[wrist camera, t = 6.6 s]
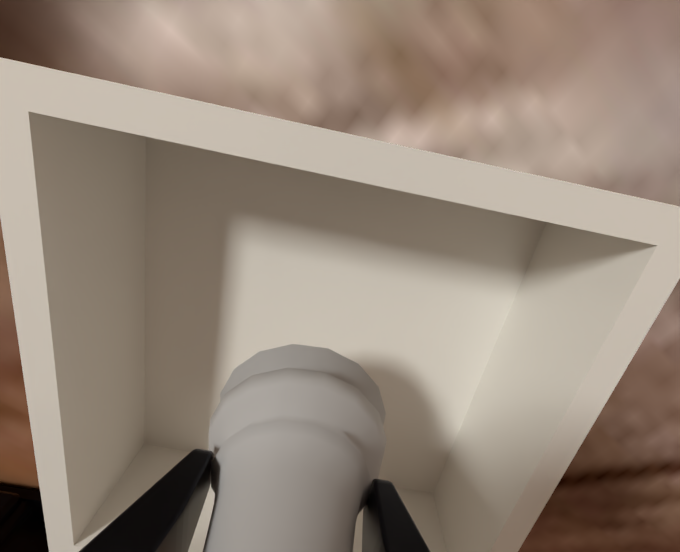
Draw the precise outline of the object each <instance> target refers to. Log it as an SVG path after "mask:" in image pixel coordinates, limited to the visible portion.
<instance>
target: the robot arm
mask: <svg viewBox="0 0 680 552" xmlns="http://www.w3.org/2000/svg"><path fill="white" fill-rule="evenodd" d="M213 459H214V454H213V452H212V451H209V450H203V449H194V450H192V451H191V452H190V453H189V454H188V455H187V456H185V457H184V458H183V459H182V460H181V461H180V462H179V463H178V464H176V465H175V466H174V467H173V468H172V469H171V470H170V471H169V472H167V473H166V474H165V475H164V476H163V477H162V478H161V479H160V480H158V481H157V482H156V483H155V484H154V485H153V486H152V487H151V488H150V489H148V490H147V491H146V492H145V493H144V494H143V495H142V496H141V497H139V498H138V499H137V500H136V501H135V502H134V503H133V504H132V505H130V506H129V507H128V508H127V509H126V510H125V511H124V512H123V513H121V514H120V515H119V516H118V517H117V518H116V519H115V520H114V521H112V522H111V523H110V524H109V525H108V526H107V527H106V528H105V529H103V530H102V531H101V532H100V533H99V534H98V535H97V536H96V537H95V538H93V539H92V540H91V541H90V542H89V543H88V544H87V545H86V546H84V547H83V548H82V549H81V550H80V551H79V552H188V550H189V547H190V544H191V541H192V538H193V535H194V532H195V529H196V526H197V523H198V520H199V517H200V514H201V511H202V509H203V506H204V503H205V500H206V497H207V494H208V491H209V488H210V484H211V463H212V461H213ZM0 552H49V549H48V542H47V535H46V528H45V521H44V514H43V507H42V500H41V493H40V492H39V491H33V490H27V489H20V488H14V487H8V486H2V485H0ZM362 552H430V550H429V548H428V546H427V544H426V543H425V541H424V539H423V537H422V535H421V534H420V532H419V530H418V528H417V526H416V525H415V523H414V521H413V519H412V517H411V516H410V514H409V512H408V510H407V508H406V507H405V505H404V503H403V501H402V499H401V498H400V496H399V494H398V492H397V490H396V489H395V487H394V485H393V484H392V482H390V481H388V480H382V479H373V480H372V484H371V488H370V492H369V497H368V501H367V504H366V506H365V507H364V509H363V527H362Z"/></svg>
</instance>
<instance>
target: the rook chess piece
mask: <svg viewBox="0 0 680 552" xmlns="http://www.w3.org/2000/svg"><path fill="white" fill-rule="evenodd" d="M385 415H386V412H385V409H384V405H383V401H382V397H381V394H380V390H379V387H378V386H377V385H376V383H375V382H374V381H373V380H372V379H371V378H370V376H369V375H368V374H367V373H366V372H365V371H364V370H363V368H362V367H361V366H360V365H359V364H358V363H356V362H354V361H352V360H350V359H348V358H346V357H344V356H342V355H340V354H338V353H336V352H334V351H332V350H331V349H329V348H322V347H314V346H306V345H298V344H290V345H286V346H281V347H277V348H272V349H268V350H263V351H259V352H258V353H256V354H255V355H254V356H252V357H251V358H249V359H248V360H246V361H245V362H243V363H242V364H241V365H239V366H238V367H236V368H235V369H234V370H233V372H232V373H231V375H230V377H229V379H228V381H227V382H226V384H225V386H224V388H223V389H222V391H221V393H220V403H219V404H218V406H217V408H216V410H215V411H214V413H213V415H212V417H211V419H210V427H209V451H212V452H213V454H214V459H213V461H212V463H211V488H212V490H213V491H214V493H215V499H214V506H213V510H212V514H211V518H210V523H209V527H208V531H207V536H206V540H205V544H204V548H203V552H353V544H354V535H355V526H356V520H357V516H358V514H359V513H360V512H361V510H362V509H363V508H364V507H365V506H366V504H367V501H368V497H369V492H370V488H371V484H372V480H373V479H378V476H379V472H380V468H381V464H382V459H383V455H384V451H385V446H386V441H387V439H386V435H385V432H384V428H383V424H384V420H385Z"/></svg>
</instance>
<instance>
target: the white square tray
mask: <svg viewBox="0 0 680 552" xmlns="http://www.w3.org/2000/svg"><path fill="white" fill-rule="evenodd" d="M0 218H1V225H2V232H3V239H4V245H5V252H6V259H7V266H8V273H9V280H10V287H11V294H12V301H13V307H14V314H15V321H16V328H17V335H18V342H19V349H20V356H21V363H22V369H23V376H24V383H25V390H26V397H27V404H28V411H29V418H30V425H31V431H32V438H33V445H34V452H35V459H36V466H37V473H38V480H39V487H40V493H41V500H42V507H43V514H44V521H45V528H46V535H47V542H48V549H49V552H79V551H80V550H81V549H82V548H83V547H84V546H86V545H87V544H88V543H89V542H90V541H91V540H92V539H93V538H95V537H96V536H97V535H98V534H99V533H100V532H101V531H102V530H103V529H105V528H106V527H107V526H108V525H109V524H110V523H111V522H112V521H114V520H115V519H116V518H117V517H118V516H119V515H120V514H121V513H123V512H124V511H125V510H126V509H127V508H128V507H129V506H130V505H132V504H133V503H134V502H135V501H136V500H137V499H138V498H139V497H141V496H142V495H143V494H144V493H145V492H146V491H147V490H148V489H150V488H151V487H152V486H153V485H154V484H155V483H156V482H157V481H158V480H160V479H161V478H162V477H163V476H164V475H165V474H166V473H167V472H169V471H170V470H171V469H172V468H173V467H174V466H175V465H176V464H178V463H179V462H180V461H181V460H182V459H183V458H184V457H185V456H187V455H188V454H189V453H190V452H191V451H192V450H194V449H203V450H209V427H210V419H211V417H212V415H213V413H214V411H215V410H216V408H217V406H218V404H219V403H220V393H221V391H222V389H223V388H224V386H225V384H226V382H227V381H228V379H229V377H230V375H231V373H232V372H233V370H234V369H235V368H236V367H238V366H239V365H241V364H242V363H243V362H245V361H246V360H248V359H249V358H251V357H252V356H254V355H255V354H256V353H258V352H259V351H263V350H268V349H272V348H277V347H281V346H286V345H290V344H298V345H306V346H314V347H322V348H329V349H331V350H332V351H334V352H336V353H338V354H340V355H342V356H344V357H346V358H348V359H350V360H352V361H354V362H356V363H358V364H359V365H360V366H361V367H362V368H363V370H364V371H365V372H366V373H367V374H368V375H369V376H370V378H371V379H372V380H373V381H374V382H375V383H376V385H377V386H378V387H379V390H380V394H381V397H382V401H383V405H384V409H385V412H386V415H385V420H384V424H383V428H384V432H385V435H386V439H387V441H386V446H385V451H384V455H383V459H382V464H381V468H380V472H379V476H378V479H382V480H388V481H390V482H392V484H393V485H394V487H395V489H396V490H397V492H398V494H399V496H400V498H401V499H402V501H403V503H404V505H405V507H406V508H407V510H408V512H409V514H410V516H411V517H412V519H413V521H414V523H415V525H416V526H417V528H418V530H419V532H420V534H421V535H422V537H423V539H424V541H425V543H426V544H427V546H428V548H429V550H430V552H518V551H519V549H520V547H521V546H522V544H523V542H524V541H525V539H526V537H527V536H528V534H529V532H530V530H531V529H532V527H533V525H534V524H535V522H536V520H537V519H538V517H539V515H540V514H541V512H542V510H543V508H544V507H545V505H546V503H547V502H548V500H549V498H550V497H551V495H552V493H553V492H554V490H555V488H556V486H557V485H558V483H559V481H560V480H561V478H562V476H563V475H564V473H565V471H566V470H567V468H568V466H569V465H570V463H571V461H572V459H573V458H574V456H575V454H576V453H577V451H578V449H579V448H580V446H581V444H582V443H583V441H584V439H585V437H586V436H587V434H588V432H589V431H590V429H591V427H592V426H593V424H594V422H595V421H596V419H597V417H598V415H599V414H600V412H601V410H602V409H603V407H604V405H605V404H606V402H607V400H608V399H609V397H610V395H611V393H612V392H613V390H614V388H615V387H616V385H617V383H618V382H619V380H620V378H621V377H622V375H623V373H624V371H625V370H626V368H627V366H628V365H629V363H630V361H631V360H632V358H633V356H634V355H635V353H636V351H637V349H638V348H639V346H640V344H641V343H642V341H643V339H644V338H645V336H646V334H647V333H648V331H649V329H650V327H651V326H652V324H653V322H654V321H655V319H656V317H657V316H658V314H659V312H660V311H661V309H662V307H663V306H664V304H665V302H666V300H667V299H668V297H669V295H670V294H671V292H672V290H673V289H674V287H675V285H676V284H677V282H678V280H679V278H680V207H679V206H675V205H670V204H666V203H661V202H656V201H652V200H647V199H643V198H638V197H634V196H629V195H625V194H620V193H615V192H611V191H606V190H602V189H597V188H593V187H588V186H584V185H579V184H574V183H570V182H565V181H561V180H556V179H552V178H547V177H543V176H538V175H534V174H529V173H524V172H520V171H515V170H511V169H506V168H502V167H497V166H493V165H488V164H483V163H479V162H474V161H470V160H465V159H461V158H456V157H452V156H447V155H443V154H438V153H433V152H429V151H424V150H420V149H415V148H411V147H406V146H402V145H397V144H392V143H388V142H383V141H379V140H374V139H370V138H365V137H361V136H356V135H351V134H347V133H342V132H338V131H333V130H329V129H324V128H320V127H315V126H311V125H306V124H301V123H297V122H292V121H288V120H283V119H279V118H274V117H270V116H265V115H260V114H256V113H251V112H247V111H242V110H238V109H233V108H229V107H224V106H220V105H215V104H210V103H206V102H201V101H197V100H192V99H188V98H183V97H179V96H174V95H169V94H165V93H160V92H156V91H151V90H147V89H142V88H138V87H133V86H129V85H124V84H119V83H115V82H110V81H106V80H101V79H97V78H92V77H88V76H83V75H78V74H74V73H69V72H65V71H60V70H56V69H51V68H47V67H42V66H37V65H33V64H28V63H24V62H19V61H15V60H10V59H6V58H1V57H0ZM214 499H215V493H214V491H213V490H212V488H211V484H210V488H209V491H208V494H207V497H206V500H205V503H204V506H203V509H202V511H201V514H200V517H199V520H198V523H197V526H196V529H195V532H194V535H193V538H192V541H191V544H190V547H189V550H188V552H203V548H204V544H205V540H206V536H207V531H208V527H209V523H210V518H211V514H212V510H213V506H214ZM363 509H364V508H363ZM363 509H362V510H361V512H360V513H359V514H358V516H357V520H356V526H355V535H354V544H353V552H362V527H363Z"/></svg>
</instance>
